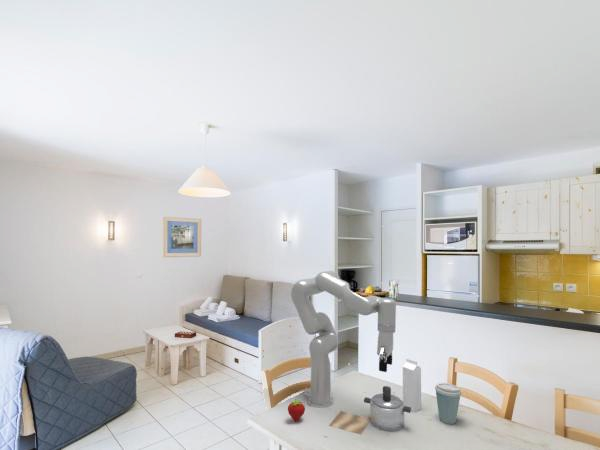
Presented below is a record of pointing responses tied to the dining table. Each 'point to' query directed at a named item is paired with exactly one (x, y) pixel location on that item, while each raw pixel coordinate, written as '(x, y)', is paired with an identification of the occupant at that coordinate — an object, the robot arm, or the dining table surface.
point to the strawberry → (296, 410)
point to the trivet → (350, 422)
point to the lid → (386, 399)
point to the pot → (387, 416)
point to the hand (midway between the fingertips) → (385, 367)
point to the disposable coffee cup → (447, 402)
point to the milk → (412, 385)
